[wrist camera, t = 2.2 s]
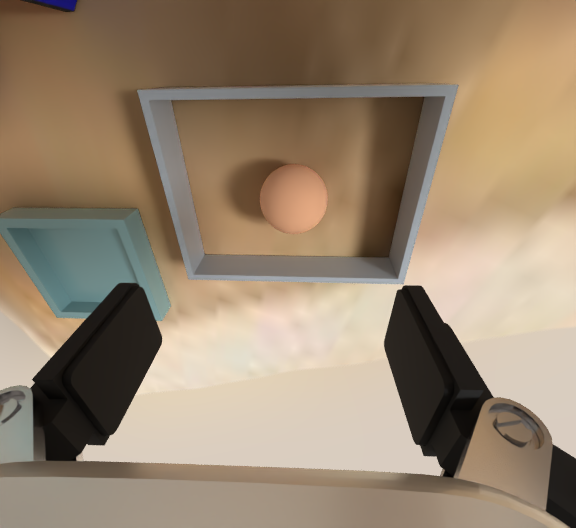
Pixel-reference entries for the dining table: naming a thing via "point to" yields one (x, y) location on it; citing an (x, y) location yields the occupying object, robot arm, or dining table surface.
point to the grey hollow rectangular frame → (298, 267)
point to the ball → (293, 198)
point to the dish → (83, 256)
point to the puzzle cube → (56, 4)
